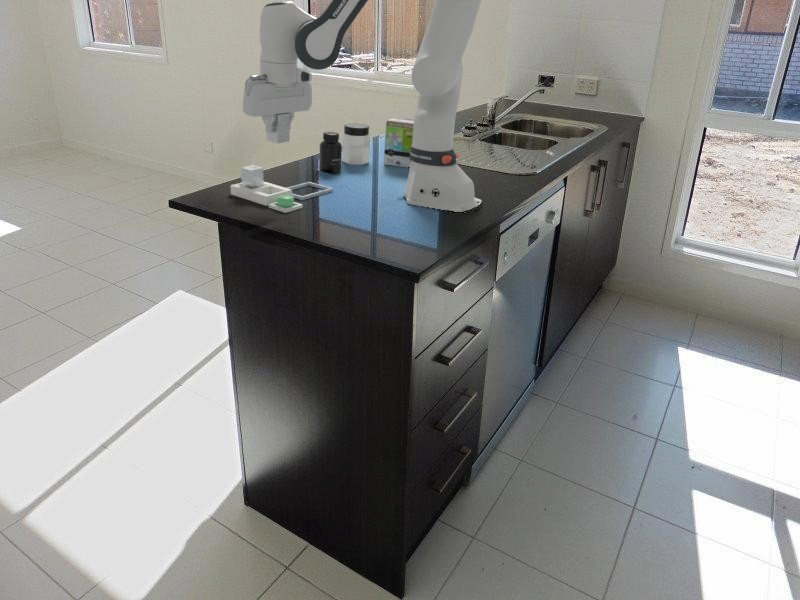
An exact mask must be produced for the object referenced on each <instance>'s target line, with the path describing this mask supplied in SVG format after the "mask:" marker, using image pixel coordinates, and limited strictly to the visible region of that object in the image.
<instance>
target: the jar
mask: <svg viewBox="0 0 800 600" xmlns="http://www.w3.org/2000/svg"><path fill="white" fill-rule="evenodd" d="M343 129H344V130H343V133H342V157H341V162H343V163H346V164H348V165H351V166H352V165H354V166H356V165H357V166H364V165H365V164H369V163H370V148H371V147H370V144H371V134H370V126H369V125H368V124H365V123H357V122H356V123H354V122H352V123H351V122H350V123H346V124H344V127H343Z"/></svg>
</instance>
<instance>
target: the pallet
mask: <svg viewBox="0 0 800 600" xmlns="http://www.w3.org/2000/svg"><path fill="white" fill-rule="evenodd" d="M263 182H264V186H263V187H259V188H255V189H250V188H247V187H243V186H242V182H238V183H235V184H234V183H233V184H230V186H229V187H230V195H232V196H235V197H238V198H241V199H244V200H248V201H250V202H254V203H256V204H259V205H262V206H265V207H267V206H268V207H269V204H271V203H275V202H278V200H277V198H278V197H279V196H292V193H293V190H291V189H288V188H287V187H284V186H281V185H278V184H274V183H271V182H267V181H264V180H263Z"/></svg>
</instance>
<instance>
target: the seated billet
mask: <svg viewBox="0 0 800 600" xmlns="http://www.w3.org/2000/svg"><path fill="white" fill-rule="evenodd" d="M240 177H241V183H242V186H243V187H247V188H250V189H255V188H259V187H263V186H264V182H265V181H264V167H261V166H257V165H254V164H252V165H247V166H242V167H240ZM263 181H264V182H263Z"/></svg>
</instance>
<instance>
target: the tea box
mask: <svg viewBox="0 0 800 600" xmlns="http://www.w3.org/2000/svg"><path fill="white" fill-rule="evenodd" d="M413 125H414V117H413V118H411V117H403V116H396V115H394V116H393V117H391V118H389V119H388V120H386V124H385V138H384V139H385V140H384V155H383V156H384V157H383V165H384V166H386V165H388V166H395V167H404V168H408V167H410V148H411V145H412V140H413Z"/></svg>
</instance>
